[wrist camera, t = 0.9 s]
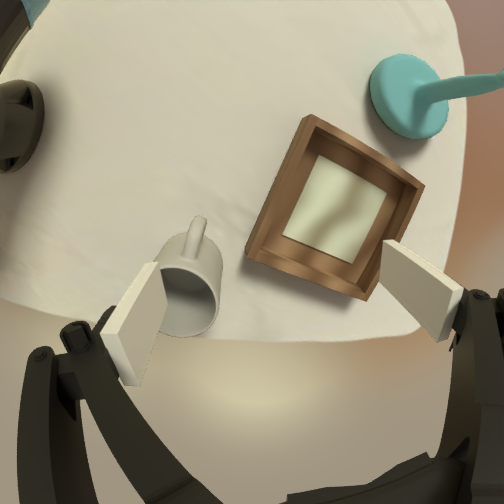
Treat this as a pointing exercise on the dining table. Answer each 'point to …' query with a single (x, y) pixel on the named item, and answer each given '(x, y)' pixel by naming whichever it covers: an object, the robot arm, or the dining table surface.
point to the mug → (190, 281)
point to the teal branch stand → (421, 94)
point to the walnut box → (333, 210)
